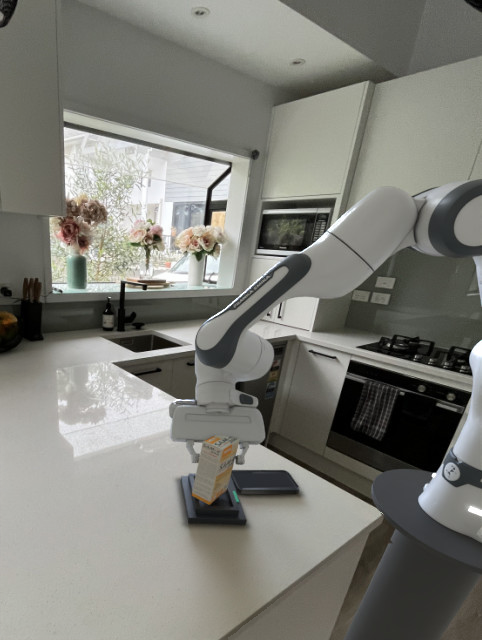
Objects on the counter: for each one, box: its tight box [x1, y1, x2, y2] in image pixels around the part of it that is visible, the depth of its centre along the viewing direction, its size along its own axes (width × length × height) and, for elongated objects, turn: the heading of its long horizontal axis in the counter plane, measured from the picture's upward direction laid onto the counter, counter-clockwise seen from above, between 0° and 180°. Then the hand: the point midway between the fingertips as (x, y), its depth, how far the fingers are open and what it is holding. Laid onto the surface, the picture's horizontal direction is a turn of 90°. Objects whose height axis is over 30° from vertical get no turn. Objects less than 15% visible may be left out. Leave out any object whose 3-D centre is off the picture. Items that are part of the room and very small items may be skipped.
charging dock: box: [180, 472, 248, 526], centre depth 83 cm, size 12×14×3 cm
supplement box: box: [192, 435, 240, 505], centre depth 79 cm, size 8×5×13 cm, turn 142°
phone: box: [230, 469, 300, 495], centre depth 90 cm, size 8×1×15 cm
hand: (217, 463), depth 79 cm, fingers open, 8 cm apart
